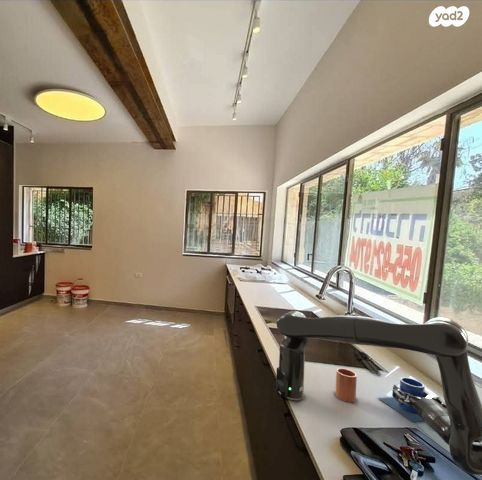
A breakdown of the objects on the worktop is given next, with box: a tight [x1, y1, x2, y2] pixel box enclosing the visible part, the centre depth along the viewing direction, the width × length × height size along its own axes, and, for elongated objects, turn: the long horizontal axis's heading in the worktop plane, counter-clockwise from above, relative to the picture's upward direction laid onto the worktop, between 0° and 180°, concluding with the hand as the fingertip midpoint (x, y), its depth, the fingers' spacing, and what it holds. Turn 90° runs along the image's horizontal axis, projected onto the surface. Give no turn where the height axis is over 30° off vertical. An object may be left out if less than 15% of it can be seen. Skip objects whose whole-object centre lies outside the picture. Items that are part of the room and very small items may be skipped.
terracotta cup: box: [334, 367, 358, 403], centre depth 107 cm, size 7×7×10 cm
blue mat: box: [378, 396, 425, 423], centre depth 101 cm, size 13×13×1 cm
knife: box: [354, 350, 381, 375], centre depth 136 cm, size 25×6×1 cm, turn 154°
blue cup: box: [399, 376, 426, 414], centre depth 100 cm, size 7×7×10 cm
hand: (408, 389), depth 102 cm, fingers open, 8 cm apart
